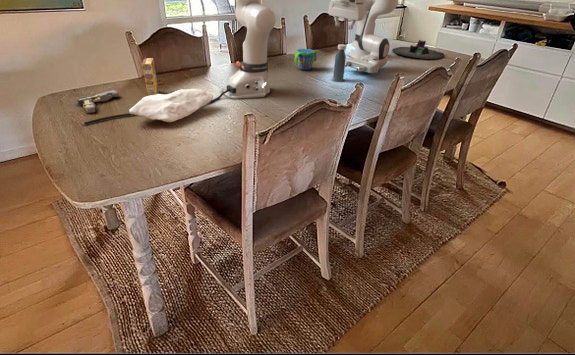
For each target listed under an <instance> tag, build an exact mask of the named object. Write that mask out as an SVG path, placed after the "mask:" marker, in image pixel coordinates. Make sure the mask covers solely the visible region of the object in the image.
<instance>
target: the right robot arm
mask: <svg viewBox="0 0 575 355" xmlns="http://www.w3.org/2000/svg"><path fill="white" fill-rule="evenodd" d="M363 4H364V6H365V11H364V18H363V19H362V20H361V21H356V31H355V35H354V40H353V42H352V41H351V45H347V47H348V48H350V52H348V53H347V56H348V57H346V61H345V68H347V67H349V68H352V69H355V70H356V71H358V72H365V73H368V74H377V73H378V72H379V69H380V68H382V67H384V66H385V65H386V64H387V63H388V61H389V56H388V55H389V53H390V41H389V40H388V38H386V37H384V36H380V35H376V34H375V30H376V29H375V28H376V20H377V18H378V17H379V16H383V15H387V14H388V15H389V14H390V13H392V12H393V11H395V10H396V9H397V6H398V4H399V0H365V2H364V3H363Z"/></svg>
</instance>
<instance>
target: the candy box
mask: <svg viewBox="0 0 575 355" xmlns="http://www.w3.org/2000/svg"><path fill="white" fill-rule="evenodd" d="M141 66H142V73H143V78H144V82H145V87H146V92H147V96H150V95H156V94H159V91H160V90H159V84H158V79H157V73H156V66H155V62H154V58H153V57H151V58H150V57H149V58H146V57H145V58H143V60H142V63H141Z"/></svg>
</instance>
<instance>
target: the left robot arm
mask: <svg viewBox="0 0 575 355" xmlns="http://www.w3.org/2000/svg"><path fill="white" fill-rule="evenodd" d="M261 2H262V1H261V0H236V3H237V4H236V6H235V10H234V16H235V18H236V20H237V21H238V23H239V24H240V25H241V26H243V27H245V28H246V35H245V39H244V41H243V42H242V59H243V60H242V61H236V62H235V65H236V66H237V67H239V69H237V71H236V72H235V73H234V74H232V75H231V76H230V77H229V78H228V81H227V85H226V87H224V88H223V91H222V92H221V93H220V94H219V96H217V97H215V98H213V99H212V100H211V101H210V102H209V103H207V104H206V105H208V104H211V103H215V102H216V101H218V100H219V99H221V98H222V97H223V96H224V95H225V96H226V97H228V98H230V99H233V100H236V99H237V100H238V99H239V100H240V99H253V98H254V99H255V98H264V97H266V95H268V94H269V93H270V92H271V88H270V84H269V78H268V76H269V75H268V72H269V61H268V45H269V44H268V43H269V38H270V34H271V31H273V29H274V28H275V25H276V20H277V19H276V14H275V13H274V11H273V10H272V9H271V8H270V7H268V6H267V5H265V4H263V3H261ZM364 2H365V0H330V1H329V5H328V12H327V13H328V15H329V16H332V17H333V19H334V23H335V26H334V27H341V22H340V21H339V19H340V18H341V19H346V20H350V22H351V23H350V24H349V25H348V27H347V28H348V30H353V29H354V25H355V24H356V23H357V21H361V20H362V19H363V18H364V11H365V6H364V4H363V3H364ZM128 116H129V117H130V116H135V115H134V114H130V112H127V113H121V114H120V113H119V114H115V115H108V116H104V117H100V118H95V119H92V120H88V121H84V125H89V124H94V123H97V122H100V121H101V122H102V121H104V120H110V119H116V118H123V117H128Z"/></svg>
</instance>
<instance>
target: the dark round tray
mask: <svg viewBox="0 0 575 355" xmlns="http://www.w3.org/2000/svg"><path fill="white" fill-rule="evenodd" d="M426 43H427V41H426V40H422V39H419V40H418V41H417V43H416V44H415V45H412V44H411V45H410V46H399V47H395V48H392V49H391V51H392V52H393V53H395V54H397V55H401V56H403V57H407V58H415V59H421V60H437V59H442V58H444V56H445V54H444V53H443V52H440V51H436V50H435V49H434V50H433V49H429V47H428V46H426Z"/></svg>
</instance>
